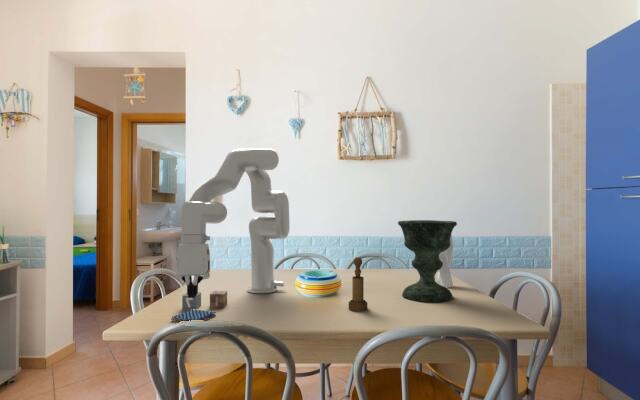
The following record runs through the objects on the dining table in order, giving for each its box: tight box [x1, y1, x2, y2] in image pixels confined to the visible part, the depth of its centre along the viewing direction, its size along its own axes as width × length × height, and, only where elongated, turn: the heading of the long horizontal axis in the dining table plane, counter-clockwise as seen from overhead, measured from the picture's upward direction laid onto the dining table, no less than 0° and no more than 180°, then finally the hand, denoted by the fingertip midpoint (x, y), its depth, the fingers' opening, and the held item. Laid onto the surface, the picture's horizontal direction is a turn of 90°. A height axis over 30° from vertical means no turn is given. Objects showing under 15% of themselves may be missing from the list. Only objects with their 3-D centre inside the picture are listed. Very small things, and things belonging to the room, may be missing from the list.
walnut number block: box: [209, 290, 228, 309], centre depth 137 cm, size 5×5×5 cm
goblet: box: [397, 219, 458, 303], centre depth 150 cm, size 22×23×30 cm
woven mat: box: [170, 309, 217, 323], centre depth 122 cm, size 10×11×2 cm
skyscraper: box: [434, 233, 454, 288], centre depth 170 cm, size 8×8×28 cm
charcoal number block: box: [181, 291, 202, 311], centre depth 135 cm, size 5×5×5 cm
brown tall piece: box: [348, 257, 369, 312], centre depth 133 cm, size 7×6×18 cm
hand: (192, 296), depth 122 cm, fingers closed
